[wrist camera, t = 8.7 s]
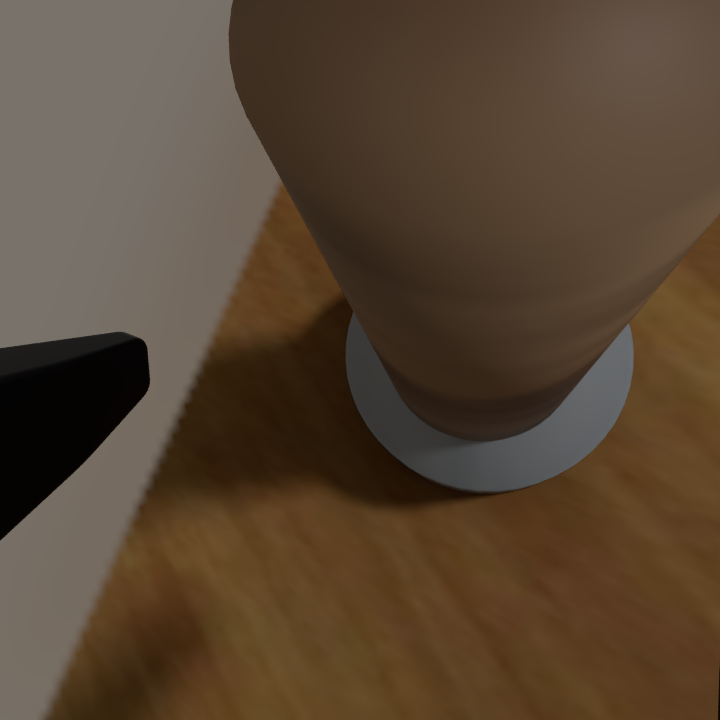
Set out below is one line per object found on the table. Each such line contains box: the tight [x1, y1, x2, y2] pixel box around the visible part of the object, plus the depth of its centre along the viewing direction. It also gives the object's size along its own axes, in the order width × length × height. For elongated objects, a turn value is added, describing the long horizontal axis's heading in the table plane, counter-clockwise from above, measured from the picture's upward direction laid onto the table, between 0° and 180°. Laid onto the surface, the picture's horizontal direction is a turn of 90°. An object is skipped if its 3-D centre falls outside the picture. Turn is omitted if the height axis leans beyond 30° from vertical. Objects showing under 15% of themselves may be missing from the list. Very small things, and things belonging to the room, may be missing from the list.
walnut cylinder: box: [229, 0, 720, 441], centre depth 11 cm, size 6×6×12 cm
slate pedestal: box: [346, 312, 634, 494], centre depth 19 cm, size 9×9×3 cm
